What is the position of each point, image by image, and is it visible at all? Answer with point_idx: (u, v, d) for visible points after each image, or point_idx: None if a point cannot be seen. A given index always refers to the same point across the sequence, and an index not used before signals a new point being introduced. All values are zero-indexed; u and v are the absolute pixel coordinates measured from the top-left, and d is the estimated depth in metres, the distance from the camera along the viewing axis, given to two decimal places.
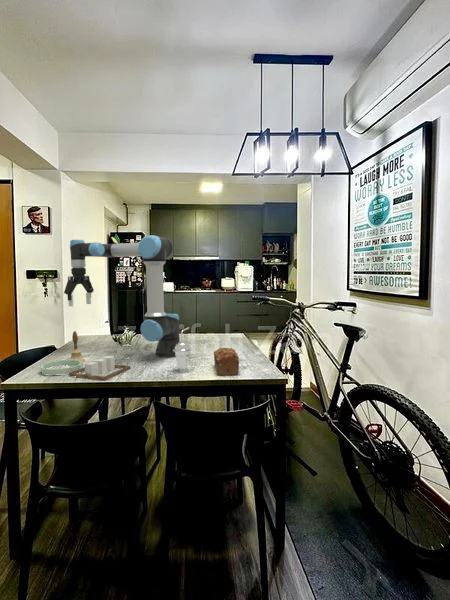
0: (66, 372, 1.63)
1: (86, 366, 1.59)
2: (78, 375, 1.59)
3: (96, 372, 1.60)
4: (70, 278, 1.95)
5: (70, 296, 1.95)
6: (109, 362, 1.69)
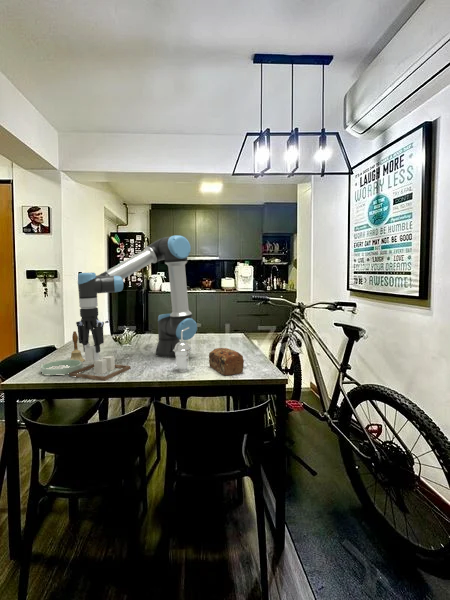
0: (66, 372, 1.63)
1: (86, 350, 1.58)
2: (78, 375, 1.59)
3: None
4: None
5: None
6: (109, 362, 1.69)
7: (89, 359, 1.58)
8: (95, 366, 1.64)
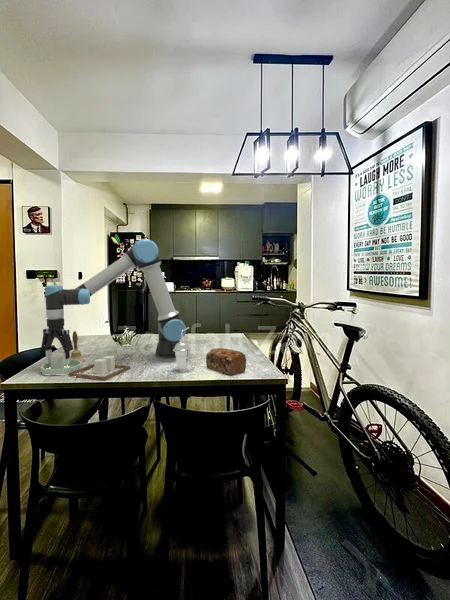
0: (66, 372, 1.63)
1: (52, 359, 1.69)
2: (78, 375, 1.59)
3: (62, 365, 1.71)
4: None
5: (46, 352, 1.72)
6: (109, 362, 1.69)
7: (55, 368, 1.69)
8: (95, 366, 1.64)
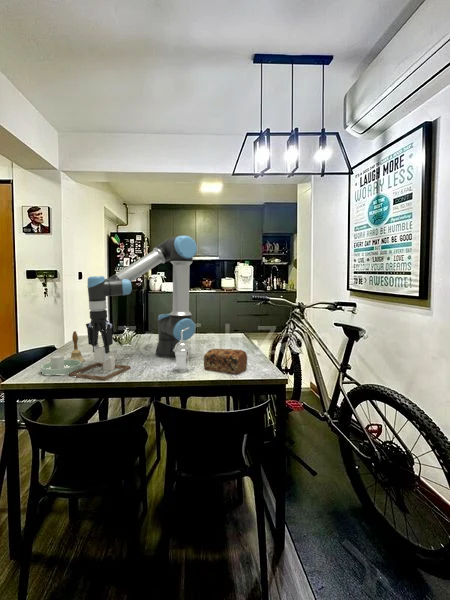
0: (66, 372, 1.63)
1: (52, 359, 1.69)
2: (78, 375, 1.59)
3: (62, 365, 1.71)
4: None
5: (93, 348, 1.66)
6: (109, 362, 1.69)
7: (55, 368, 1.69)
8: (96, 354, 1.64)
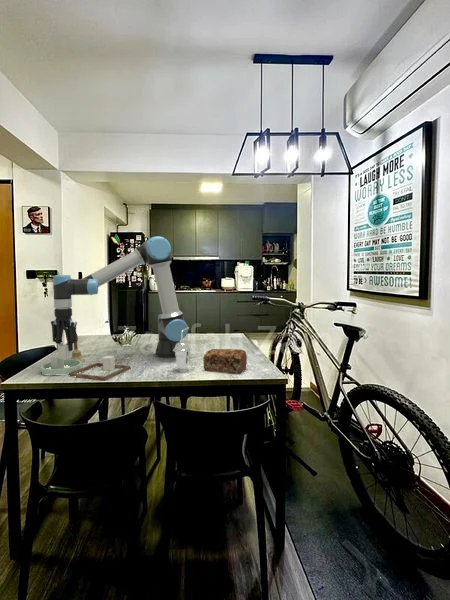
0: (66, 372, 1.63)
1: (52, 359, 1.69)
2: (78, 375, 1.59)
3: (62, 365, 1.71)
4: None
5: (57, 345, 1.69)
6: (109, 362, 1.69)
7: (55, 368, 1.69)
8: (59, 351, 1.67)
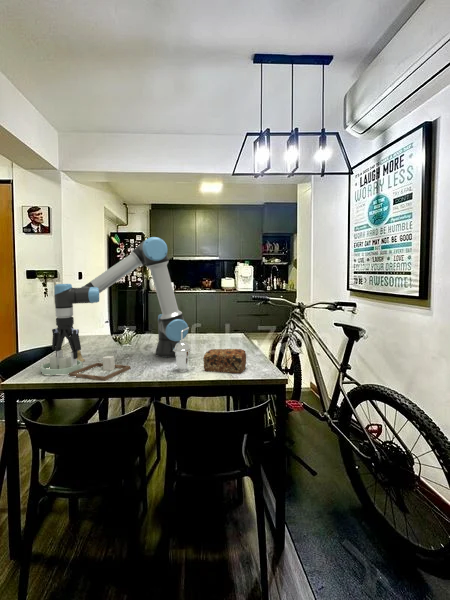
0: (66, 372, 1.63)
1: (51, 359, 1.69)
2: (78, 375, 1.59)
3: None
4: None
5: (56, 353, 1.69)
6: (109, 362, 1.69)
7: (54, 368, 1.69)
8: (60, 363, 1.68)
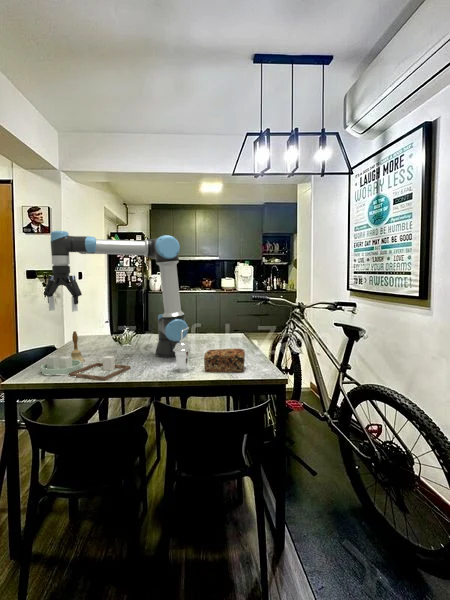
0: (66, 372, 1.63)
1: (48, 359, 1.70)
2: (78, 375, 1.59)
3: (58, 364, 1.72)
4: None
5: (48, 298, 1.68)
6: (109, 362, 1.69)
7: (50, 367, 1.70)
8: (60, 363, 1.68)
